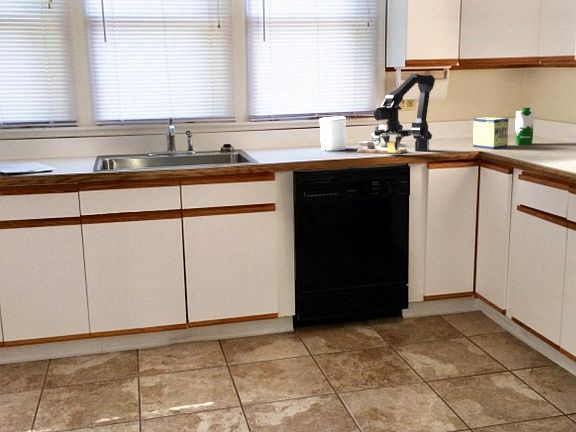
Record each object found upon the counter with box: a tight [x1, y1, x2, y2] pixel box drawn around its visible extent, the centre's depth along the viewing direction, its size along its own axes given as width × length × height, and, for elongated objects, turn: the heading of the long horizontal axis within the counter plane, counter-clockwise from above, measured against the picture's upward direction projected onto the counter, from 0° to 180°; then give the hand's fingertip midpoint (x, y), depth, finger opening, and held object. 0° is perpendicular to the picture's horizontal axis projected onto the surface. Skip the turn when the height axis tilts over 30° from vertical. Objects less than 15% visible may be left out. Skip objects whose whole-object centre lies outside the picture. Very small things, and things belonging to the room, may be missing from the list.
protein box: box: [472, 116, 509, 150], centre depth 365 cm, size 10×16×16 cm
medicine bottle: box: [371, 124, 387, 148], centre depth 389 cm, size 7×7×12 cm
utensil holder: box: [319, 116, 347, 152], centre depth 382 cm, size 15×15×18 cm
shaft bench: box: [356, 140, 408, 155], centre depth 364 cm, size 26×10×5 cm, turn 59°
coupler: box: [386, 140, 398, 152], centre depth 351 cm, size 4×5×5 cm
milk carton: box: [514, 107, 535, 146], centre depth 371 cm, size 9×9×20 cm
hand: (392, 149), depth 352 cm, fingers closed on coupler, 4 cm apart
